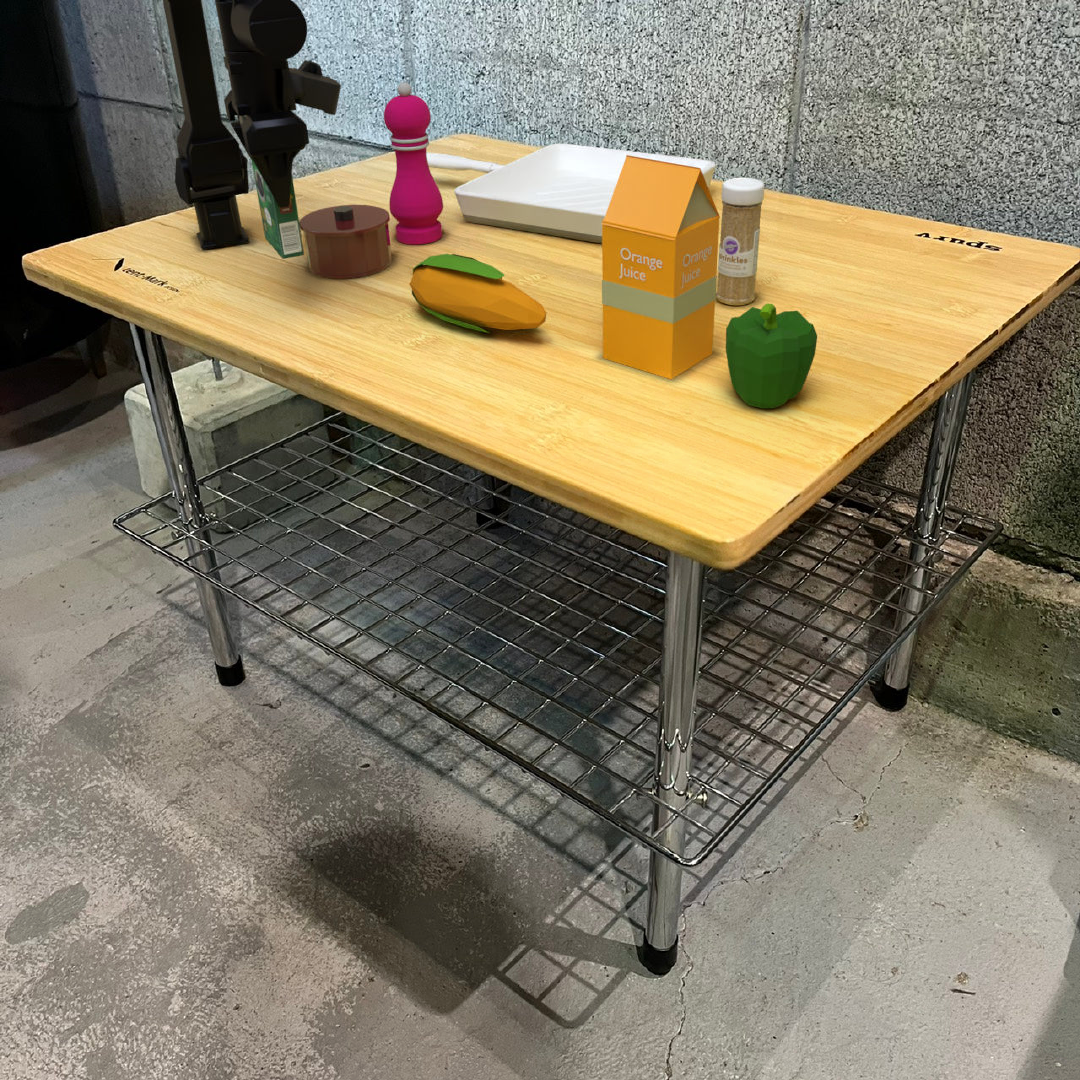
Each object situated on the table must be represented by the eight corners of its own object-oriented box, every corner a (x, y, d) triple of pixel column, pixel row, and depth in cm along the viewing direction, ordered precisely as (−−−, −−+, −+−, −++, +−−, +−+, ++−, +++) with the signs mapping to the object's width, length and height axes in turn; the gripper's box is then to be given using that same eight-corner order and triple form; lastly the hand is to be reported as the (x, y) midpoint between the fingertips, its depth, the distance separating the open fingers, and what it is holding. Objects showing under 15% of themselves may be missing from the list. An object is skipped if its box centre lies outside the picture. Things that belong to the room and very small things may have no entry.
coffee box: (307, 256, 123) (287, 136, 116) (282, 261, 122) (261, 140, 115) (288, 236, 129) (268, 121, 122) (264, 240, 128) (243, 124, 121)
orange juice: (671, 380, 109) (677, 178, 98) (601, 358, 114) (600, 163, 103) (714, 353, 114) (724, 158, 103) (645, 333, 119) (648, 145, 108)
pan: (628, 253, 140) (628, 215, 138) (360, 209, 161) (355, 175, 158) (720, 193, 160) (721, 159, 157) (470, 161, 181) (468, 130, 178)
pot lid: (292, 221, 142) (289, 203, 140) (378, 208, 145) (375, 190, 143) (310, 247, 133) (307, 228, 131) (400, 232, 136) (398, 214, 135)
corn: (435, 233, 126) (568, 268, 115) (445, 294, 131) (573, 333, 120) (389, 255, 122) (521, 294, 111) (400, 318, 127) (528, 361, 115)
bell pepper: (756, 370, 110) (764, 275, 105) (825, 395, 105) (836, 296, 100) (703, 398, 106) (707, 300, 100) (772, 425, 101) (781, 324, 95)
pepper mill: (437, 247, 146) (422, 88, 134) (386, 245, 147) (367, 88, 136) (451, 229, 151) (438, 76, 140) (402, 228, 153) (385, 76, 142)
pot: (302, 258, 144) (295, 216, 141) (380, 245, 147) (375, 204, 144) (318, 284, 136) (311, 241, 133) (400, 270, 139) (396, 227, 136)
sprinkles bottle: (711, 304, 125) (717, 186, 118) (721, 290, 129) (727, 174, 121) (751, 308, 124) (759, 189, 116) (759, 294, 127) (768, 177, 120)
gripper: (346, 52, 109) (367, 208, 117) (311, 27, 123) (331, 167, 132) (233, 64, 105) (263, 224, 114) (211, 37, 120) (239, 180, 129)
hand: (278, 197), depth 122 cm, fingers closed on coffee box, 8 cm apart
